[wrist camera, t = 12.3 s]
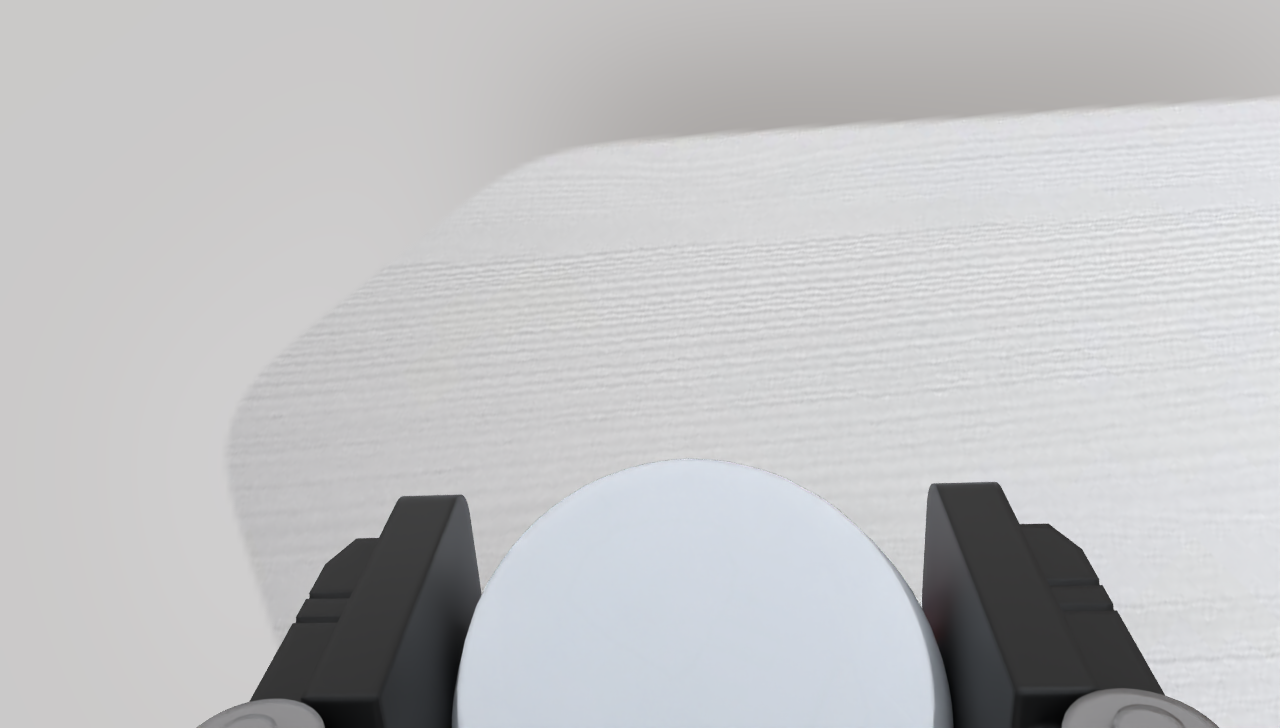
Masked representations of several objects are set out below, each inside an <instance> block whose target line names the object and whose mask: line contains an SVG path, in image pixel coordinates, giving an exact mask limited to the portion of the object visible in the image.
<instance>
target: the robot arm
mask: <svg viewBox="0 0 1280 728" xmlns="http://www.w3.org/2000/svg"><path fill="white" fill-rule="evenodd" d="M309 594H310V598H309V599H306V600H305V602H304V604H303V606H302V608H301V609H300V611H299V613H298V615H297V617H296V623H293V624H292V626H291V627H290V629H289V631H288V633H287V635H286V637H285V638H284V640H283V642H282V644H281V646H280V647H279V649H278V651H277V653H276V655H275V656H274V658H273V660H272V662H271V664H270V665H269V667H268V669H267V671H266V673H265V675H264V677H263V678H262V680H261V682H260V684H259V685H258V687H257V689H256V691H255V693H254V694H253V696H252V698H251V700H250V702H247V703H244V704H241V705H238V706H235V707H232V708H230V709H227V710H225V711H223V712H221V713H219V714H217V715H215V716H213V717H212V718H210V719H208V720H207V721H205V722H204V723H202V724H201V725H199V726H198V727H197V728H452V709H453V699H454V691H455V685H456V680H457V674H458V669H459V665H460V661H461V657H462V653H463V648H464V643H465V639H466V636H467V633H468V629H469V626H470V623H471V620H472V617H473V614H474V612H475V609H476V606H477V604H478V602H479V600H480V598H481V596H482V595H481V588H480V581H479V574H478V567H477V560H476V553H475V546H474V540H473V533H472V526H471V519H470V513H469V508H468V504H467V501H466V499H465V497H464V496H463V495H434V496H402V497H400V498H399V499H398V501H397V503H396V505H395V507H394V509H393V511H392V513H391V515H390V517H389V519H388V521H387V523H386V525H385V527H384V529H383V531H382V533H381V535H380V537H379V538H360V539H355V540H354V541H353V542H352V543H351V544H349V545H348V546H347V547H346V548H345V549H343V550H342V551H341V552H340V553H338V554H337V555H336V556H335V557H334V558H332V559H331V560H330V561H329V562H328V563H326V564H325V566H324V568H323V570H322V571H321V573H320V575H319V577H318V579H317V580H316V582H315V584H314V586H313V588H312V590H311V591H310V593H309ZM922 609H923V611H924V613H925V615H926V618H927V620H928V622H929V624H930V626H931V628H932V631H933V634H934V636H935V639H936V642H937V645H938V647H939V650H940V653H941V656H942V659H943V663H944V667H945V671H946V675H947V679H948V683H949V689H950V695H951V701H952V710H953V723H954V728H1219V727H1218V726H1217V725H1216V724H1215V723H1214V722H1212V721H1211V720H1210V719H1209V718H1207V717H1206V716H1205V715H1203V714H1202V713H1200V712H1199V711H1197V710H1196V709H1194V708H1192V707H1190V706H1188V705H1186V704H1184V703H1182V702H1180V701H1178V700H1175V699H1173V698H1170V697H1167V696H1165V694H1164V693H1163V691H1162V689H1161V687H1160V686H1159V684H1158V682H1157V680H1156V679H1155V677H1154V675H1153V673H1152V672H1151V670H1150V668H1149V666H1148V664H1147V663H1146V661H1145V659H1144V657H1143V656H1142V654H1141V652H1140V650H1139V649H1138V647H1137V645H1136V643H1135V642H1134V640H1133V638H1132V636H1131V635H1130V633H1129V631H1128V629H1127V628H1126V626H1125V624H1124V622H1123V621H1122V619H1121V617H1120V615H1119V614H1118V612H1117V611H1114V609H1113V603H1112V601H1111V599H1110V598H1109V596H1108V594H1107V592H1106V591H1105V589H1104V587H1103V585H1099V578H1098V577H1097V575H1096V573H1095V571H1094V570H1093V568H1092V566H1091V564H1090V563H1089V561H1088V559H1087V557H1086V556H1085V554H1084V552H1083V550H1082V549H1081V548H1080V547H1078V546H1077V545H1076V544H1074V543H1073V542H1072V541H1070V540H1069V539H1068V538H1066V537H1065V536H1064V535H1062V534H1061V533H1060V532H1058V531H1057V530H1056V529H1055V528H1053V527H1052V526H1051V525H1049V524H1019V522H1018V520H1017V518H1016V516H1015V514H1014V512H1013V510H1012V508H1011V506H1010V504H1009V502H1008V500H1007V498H1006V496H1005V494H1004V492H1003V490H1002V488H1001V486H1000V485H999V484H998V483H997V482H975V483H936V484H931V486H930V488H929V492H928V499H927V514H926V532H925V551H924V570H923V588H922Z"/></svg>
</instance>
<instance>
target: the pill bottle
mask: <svg viewBox="0 0 1280 728" xmlns="http://www.w3.org/2000/svg"><path fill="white" fill-rule="evenodd" d="M452 728H954V723H953V710H952V701H951V695H950V689H949V683H948V679H947V675H946V671H945V667H944V663H943V659H942V656H941V653H940V650H939V647H938V645H937V642H936V639H935V636H934V634H933V631H932V628H931V626H930V624H929V622H928V620H927V618H926V615H925V613H924V611H923V609H922V608H921V606H920V604H919V603H918V601H917V600H916V597H915V595H914V593H913V591H912V590H911V588H910V587H909V585H908V584H907V583H906V581H905V580H904V578H903V577H902V575H901V574H900V573H899V571H898V570H897V569H896V568H895V566H894V565H893V564H892V562H891V561H890V560H889V559H888V558H887V557H886V555H885V554H884V553H883V552H882V551H881V550H880V548H879V547H878V546H877V545H876V544H875V543H874V542H873V541H872V540H871V539H870V538H869V537H868V536H867V535H866V534H865V533H864V532H862V531H861V529H860V528H859V527H858V526H856V525H855V524H854V523H853V522H852V521H851V520H850V519H848V518H847V517H846V516H845V515H844V514H843V513H842V512H841V511H839V510H838V509H837V508H835V507H834V506H833V505H831V504H830V503H829V502H827V501H826V500H825V499H823V498H822V497H820V496H818V495H816V494H814V493H812V492H810V491H808V490H806V489H805V488H803V487H801V486H799V485H797V484H796V483H794V482H792V481H790V480H788V479H786V478H784V477H782V476H779V475H776V474H774V473H771V472H768V471H765V470H762V469H758V468H754V467H750V466H746V465H742V464H737V463H733V462H728V461H720V460H707V459H675V460H665V461H659V462H653V463H647V464H642V465H638V466H635V467H631V468H627V469H624V470H622V471H619V472H616V473H613V474H611V475H608V476H605V477H602V478H600V479H598V480H596V481H594V482H592V483H590V484H587V485H585V486H583V487H582V488H580V489H579V490H577V491H575V492H574V493H572V494H570V495H569V496H568V497H566V498H565V499H563V500H562V501H560V502H559V503H557V504H556V505H554V506H553V507H552V508H551V509H549V510H548V511H547V512H546V513H544V514H543V515H542V516H541V517H539V518H538V519H537V520H536V521H535V522H534V523H533V524H532V525H531V526H530V527H529V528H528V529H527V530H526V531H525V533H524V534H523V535H522V536H521V537H520V538H519V539H518V540H517V542H516V543H515V544H514V545H513V546H512V548H511V549H510V550H509V552H508V553H507V555H506V556H505V557H504V559H503V560H502V561H501V563H500V564H499V566H498V567H497V569H496V570H495V572H494V574H493V575H492V577H491V578H490V580H489V582H488V584H487V586H486V588H485V590H484V592H483V594H482V596H481V598H480V600H479V602H478V604H477V606H476V609H475V612H474V614H473V617H472V620H471V623H470V626H469V629H468V633H467V636H466V639H465V643H464V648H463V653H462V657H461V661H460V665H459V669H458V674H457V680H456V685H455V691H454V699H453V709H452Z"/></svg>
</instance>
